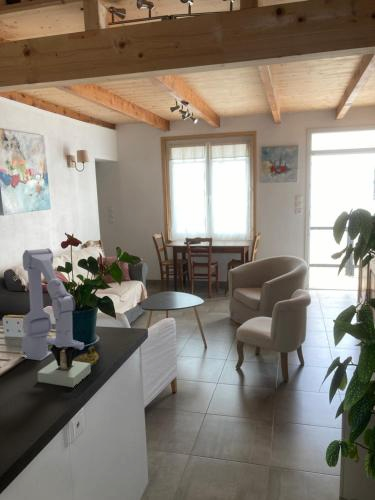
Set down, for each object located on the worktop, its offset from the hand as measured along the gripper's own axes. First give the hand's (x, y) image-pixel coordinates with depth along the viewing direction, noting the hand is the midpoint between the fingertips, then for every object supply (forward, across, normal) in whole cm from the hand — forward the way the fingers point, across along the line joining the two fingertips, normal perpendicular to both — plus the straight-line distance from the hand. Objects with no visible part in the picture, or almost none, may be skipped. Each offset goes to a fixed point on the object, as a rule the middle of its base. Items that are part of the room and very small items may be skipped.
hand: (64, 365), depth 143 cm
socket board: (+4, 0, 0) cm, 4 cm away
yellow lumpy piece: (+5, 0, +14) cm, 15 cm away
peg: (+2, 0, 0) cm, 2 cm away
